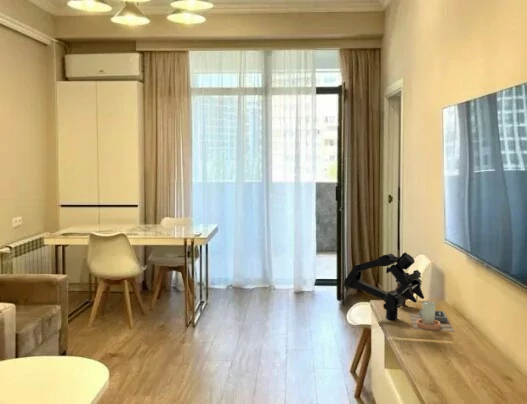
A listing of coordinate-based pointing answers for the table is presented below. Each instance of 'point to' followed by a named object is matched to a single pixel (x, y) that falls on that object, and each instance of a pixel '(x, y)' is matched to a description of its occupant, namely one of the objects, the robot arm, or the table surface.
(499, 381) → the table surface
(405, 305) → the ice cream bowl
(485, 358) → the table surface
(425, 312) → the pale green tall cylinder
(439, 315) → the parts tray
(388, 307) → the robot arm
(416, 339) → the table surface
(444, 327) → the walnut board
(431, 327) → the terracotta dish
